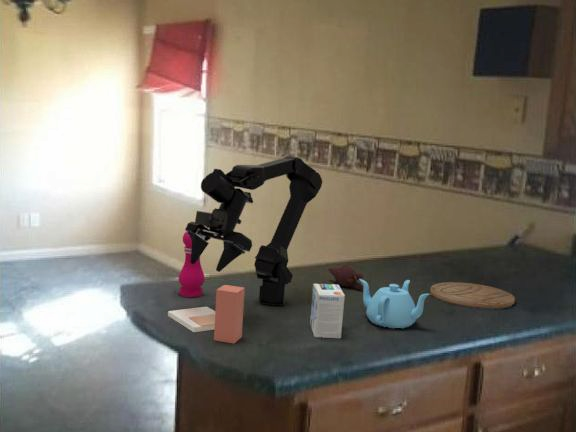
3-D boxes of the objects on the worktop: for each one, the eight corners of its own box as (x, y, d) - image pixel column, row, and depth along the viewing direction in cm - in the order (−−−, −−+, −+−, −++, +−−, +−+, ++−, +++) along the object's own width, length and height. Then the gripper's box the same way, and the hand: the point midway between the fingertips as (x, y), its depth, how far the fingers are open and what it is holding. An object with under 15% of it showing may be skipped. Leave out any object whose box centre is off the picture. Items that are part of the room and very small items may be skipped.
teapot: (372, 331, 182) (376, 292, 180) (354, 313, 196) (357, 276, 195) (427, 331, 185) (431, 292, 183) (405, 313, 200) (409, 277, 198)
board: (167, 315, 183) (168, 310, 183) (206, 311, 189) (206, 305, 189) (193, 332, 172) (194, 326, 171) (234, 326, 178) (234, 321, 178)
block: (221, 334, 172) (224, 284, 170) (241, 337, 171) (244, 287, 169) (213, 340, 167) (216, 289, 165) (234, 343, 166) (237, 292, 164)
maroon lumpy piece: (319, 262, 226) (353, 277, 216) (336, 254, 231) (370, 269, 220) (320, 282, 229) (354, 298, 218) (337, 274, 233) (371, 289, 223)
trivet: (528, 302, 223) (529, 296, 222) (489, 316, 204) (490, 309, 204) (456, 284, 239) (456, 278, 239) (414, 295, 221) (414, 289, 221)
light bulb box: (309, 323, 185) (312, 282, 183) (335, 325, 185) (338, 283, 184) (314, 337, 174) (317, 294, 172) (342, 338, 175) (345, 295, 173)
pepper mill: (199, 299, 200) (202, 227, 196) (174, 296, 201) (177, 224, 198) (207, 292, 207) (210, 223, 203) (182, 289, 208) (186, 220, 205)
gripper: (184, 191, 183) (158, 247, 179) (238, 202, 171) (211, 262, 167) (211, 210, 191) (186, 264, 187) (264, 222, 179) (238, 279, 176)
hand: (204, 267), depth 179 cm, fingers open, 9 cm apart
